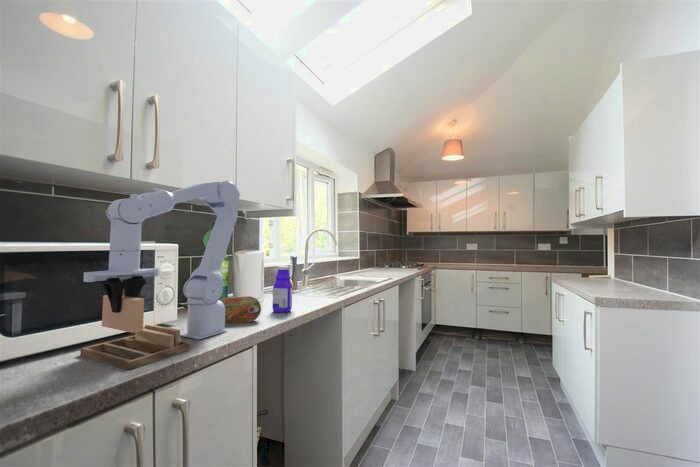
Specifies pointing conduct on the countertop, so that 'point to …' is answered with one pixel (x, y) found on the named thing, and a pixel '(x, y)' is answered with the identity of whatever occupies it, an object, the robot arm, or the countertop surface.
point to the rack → (131, 352)
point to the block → (124, 315)
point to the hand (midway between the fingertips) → (122, 311)
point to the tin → (241, 309)
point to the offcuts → (159, 336)
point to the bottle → (282, 291)
